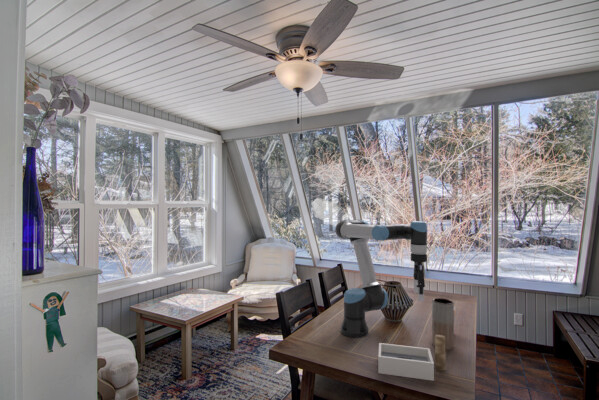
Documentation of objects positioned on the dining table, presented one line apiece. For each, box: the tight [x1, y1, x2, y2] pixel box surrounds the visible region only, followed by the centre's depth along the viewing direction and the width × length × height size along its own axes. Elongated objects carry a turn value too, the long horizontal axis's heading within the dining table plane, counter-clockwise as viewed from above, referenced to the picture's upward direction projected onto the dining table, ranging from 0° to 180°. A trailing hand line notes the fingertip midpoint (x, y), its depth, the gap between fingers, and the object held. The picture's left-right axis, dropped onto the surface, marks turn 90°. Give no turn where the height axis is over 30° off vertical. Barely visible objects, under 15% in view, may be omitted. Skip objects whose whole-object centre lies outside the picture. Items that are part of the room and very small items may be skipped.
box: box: [377, 342, 435, 382], centre depth 140 cm, size 22×14×7 cm, turn 75°
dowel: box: [434, 335, 446, 372], centre depth 140 cm, size 4×4×14 cm
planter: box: [431, 297, 455, 351], centre depth 163 cm, size 10×10×23 cm
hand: (418, 296), depth 156 cm, fingers open, 13 cm apart
